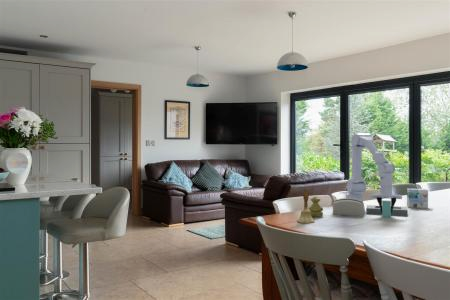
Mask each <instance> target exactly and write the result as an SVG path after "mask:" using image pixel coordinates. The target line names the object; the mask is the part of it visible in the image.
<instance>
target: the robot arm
mask: <svg viewBox="0 0 450 300" xmlns="http://www.w3.org/2000/svg"><path fill="white" fill-rule="evenodd" d="M350 139H351V144H350V145H351V177H349V179H347V182H346V183H347V184H346V187H345V188H346V191H347V193H346V195H345V198H353V199H358V200H361V201H363V202H364V194H365V192H366V191H367V185H366V179H364V178H363V177H362V174H363V173H362V169H363V167H362V166H363V164H362V158H363V157H362V156H363V153H362V152H363V149H364V148H366V149H367V150H368V151H369V152H370V154H371V155H372V160H373V161H374V163H375V165H376V166H377V172H378V174H379V175H378V176H379V179H380V180H379V184H380V185H379V186H380V190H379V191H380V193H371V195H370V196H371V197H370V198H371V199H376V201H377V203H378V206H380V209H381V213H382V200H383V199H388V200H389V199H390V201H391V213H392V211H393V207H394V206H395V205H396V202H397V200H402V199H403V194H393V174H394V173H395V171H396V167H395V164H394V163H393V162H391V161H389V160H388V159H387V157H386V156H385V155H384V152H382V151H379V150H378V148H377V146H376V145H375V143H374V137H373V135H372V134H371V133H354V134H353V135H352V136H351V137H350Z"/></svg>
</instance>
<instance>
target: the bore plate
mask: <svg viewBox="0 0 450 300" xmlns="http://www.w3.org/2000/svg"><path fill="white" fill-rule="evenodd" d="M407 207H408V206H398V205H397V206H395V205H394V207H393V211H392V213H391V216H398V217H399V216H401V217H402V216H403V217H408V216H409V215H408V212H409V211H408V208H407ZM366 213H367V214H366ZM365 214H366V215H380V214H382V213H381V209H380V206H379V205H375V204H374V205H372V204H367V205H366V209H365Z"/></svg>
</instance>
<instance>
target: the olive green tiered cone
mask: <svg viewBox="0 0 450 300" xmlns="http://www.w3.org/2000/svg"><path fill="white" fill-rule="evenodd" d="M310 201H311V202H312V204H311V205H310V206H308V210H310V211H311V217H312V218H323V217H324V212H323V211H324V208H323V207H322V206H321V205H320V204H319V202H321V198H319V197H317V196H313V197H312V198H310Z"/></svg>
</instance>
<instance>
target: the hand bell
mask: <svg viewBox="0 0 450 300" xmlns="http://www.w3.org/2000/svg"><path fill="white" fill-rule="evenodd" d="M302 197H303V209H301V211H300V215H299V218H298V219H297V221H296V222H297V223H301V224H313V223H315V220H314V219H313V217H311V211H310V210H308V208H309V205H308V201H309V198H310V195H309V190H308V188H304V190H303V195H302Z"/></svg>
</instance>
